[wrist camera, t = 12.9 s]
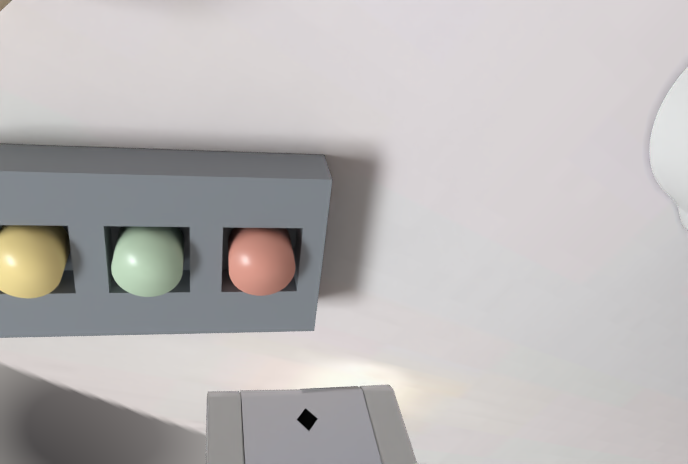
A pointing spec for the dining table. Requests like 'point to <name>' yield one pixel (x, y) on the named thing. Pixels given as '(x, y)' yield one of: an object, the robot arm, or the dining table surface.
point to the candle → (4, 3)
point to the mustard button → (32, 259)
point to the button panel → (164, 211)
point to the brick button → (260, 260)
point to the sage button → (148, 259)
